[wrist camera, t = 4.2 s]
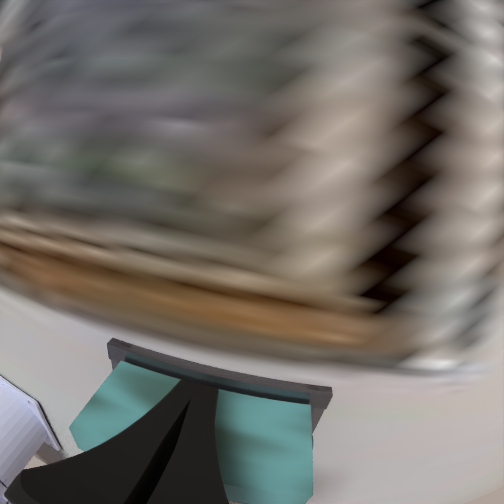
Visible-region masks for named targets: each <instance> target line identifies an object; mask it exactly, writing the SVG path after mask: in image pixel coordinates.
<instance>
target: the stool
mask: <svg viewBox="0 0 504 504" xmlns="http://www.w3.org/2000/svg"><path fill="white" fill-rule="evenodd" d="M180 380H181V379H177V378H174V377H170V376H167V375H163V374H160V373H157V372H154V371H150V370H147V369H144V368H141V367H138V366H135V365H132V364H129V363H127V362H124V361H120V363H119V364H118V365H117V366H116V368H115V369H114V370H113V371H112V373H111V374H110V375H109V376H108V378H107V379H106V380H105V381H104V383H103V384H102V385H101V386H100V388H99V389H98V390H97V392H96V393H95V394H94V395H93V397H92V398H91V399H90V401H89V402H88V403H87V404H86V406H85V407H84V408H83V410H82V411H81V412H80V413H79V415H78V416H77V417H76V419H75V420H74V421H73V423H72V424H71V425H70V427H69V429H70V431H71V433H72V435H73V438H74V440H75V442H76V444H77V446H78V448H79V449H81V450H83V451H87V450H90V449H92V448H94V447H96V446H98V445H100V444H101V443H103V442H105V441H107V440H109V439H110V438H112V437H114V436H115V435H117V434H118V433H120V432H122V431H123V430H125V429H126V428H127V427H129V426H130V425H131V424H133V423H134V422H135V421H137V420H138V419H139V418H141V417H142V416H143V415H145V414H146V413H147V412H148V411H149V410H150V409H151V408H153V407H154V406H155V405H156V404H157V403H158V402H159V401H160V400H162V399H163V398H164V397H165V396H166V395H167V394H168V393H169V392H170V391H171V390H172V389H173V388H174V386H175V385H176V384H177V383H178V382H179V381H180ZM218 390H219V393H218V401H217V408H216V416H215V440H216V449H217V456H218V462H219V468H220V473H221V477H222V481H223V485H224V489H225V493H226V496H227V499H228V501H234V502H240V503H246V504H305V503H306V502H307V501H308V500H309V499H310V497H311V496H312V495H313V455H312V450H313V436H312V421H311V405H307V404H299V403H292V402H285V401H278V400H272V399H266V398H260V397H254V396H249V395H244V394H239V393H234V392H229V391H225V390H220V389H218Z"/></svg>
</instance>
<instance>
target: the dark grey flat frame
mask: <svg viewBox="0 0 504 504" xmlns="http://www.w3.org/2000/svg"><path fill="white" fill-rule="evenodd" d="M107 348H108V355H109V359H111V362H112V368H113V370H114V369H115V368H116V366H117V365H118V364H119V363H120V361H124V362H127V363H129V364H132V365H135V366H138V367H141V368H144V369H147V370H150V371H154V372H157V373H160V374H163V375H167V376H170V377H174V378H177V379H181V380H182V379H184V380H188V381H192V382H195V383H199V384H203V385H208V386H212V387H216V388H217V389H220V390H225V391H229V392H234V393H239V394H244V395H249V396H254V397H260V398H266V399H272V400H278V401H285V402H292V403H299V404H307V405H311V421H312V433H313V432H314V430H315V428H316V426H317V424H318V422H319V420H320V418H321V416H322V413H323V411H324V409H326V408H327V406H328V404H329V402H330V400H331V398H332V396H333V395H332V387H325V386H316V385H309V384H301V383H294V382H288V381H281V380H275V379H269V378H264V377H258V376H253V375H248V374H243V373H238V372H233V371H228V370H224V369H219V368H215V367H211V366H207V365H203V364H198V363H195V362H191V361H187V360H183V359H179V358H176V357H172V356H168V355H165V354H162V353H158V352H155V351H151V350H148V349H145V348H142V347H139V346H136V345H132V344H129V343H126V342H123V341H120V340H118V339H115V338H112V339H111V340H110V341H109V342H108V343H107Z"/></svg>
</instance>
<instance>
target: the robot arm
mask: <svg viewBox="0 0 504 504" xmlns="http://www.w3.org/2000/svg"><path fill="white" fill-rule="evenodd" d="M218 393H219V390H218V389H217V388H216V387H212V386H208V385H203V384H199V383H195V382H192V381H188V380H184V379H182V380H180V381H179V382H178V383H177V384H176V385H175V386H174V388H173V389H172V390H171V391H170V392H169V393H168V394H167V395H166V396H165V397H164V398H163V399H162V400H160V401H159V402H158V403H157V404H156V405H155V406H154V407H153V408H151V409H150V410H149V411H148V412H147V413H146V414H145V415H143V416H142V417H141V418H139V419H138V420H137V421H135V422H134V423H133V424H131V425H130V426H129V427H127V428H126V429H125V430H123V431H122V432H120V433H118V434H117V435H115V436H114V437H112V438H110V439H109V440H107V441H105V442H103V443H101V444H100V445H98V446H96V447H94V448H92V449H90V450H87V451H85V452H83V453H81V454H78V455H76V456H73V457H70V458H67V459H64V460H61V461H59V462H55V463H52V464H48V465H44V466H40V467H35V468H30V469H24V468H25V466H26V465H27V464H28V462H29V461H30V460H31V458H32V457H33V456H34V455H35V453H36V452H37V451H38V449H39V448H40V447H41V445H42V444H43V443H46V444H48V445H49V446H51V447H52V448H54V449H56V450H57V451H60V449H61V448H60V446H59V444H58V442H57V440H56V439H55V437H54V435H53V433H52V431H51V429H50V427H49V425H48V423H47V421H46V419H45V417H44V414H43V412H42V410H41V408H40V406H39V404H38V402H37V401H36V400H34V399H33V398H31V397H30V396H28V395H27V394H25V393H24V392H22V391H21V390H19V389H18V388H16V387H15V386H14V385H12V384H11V383H9V382H8V381H7V380H5V379H4V378H3V377H1V376H0V504H229V502H228V499H227V496H226V493H225V489H224V485H223V481H222V477H221V473H220V468H219V462H218V456H217V449H216V440H215V416H216V408H217V401H218ZM23 469H24V470H23ZM4 486H5V487H6V488H5V487H4Z"/></svg>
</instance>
